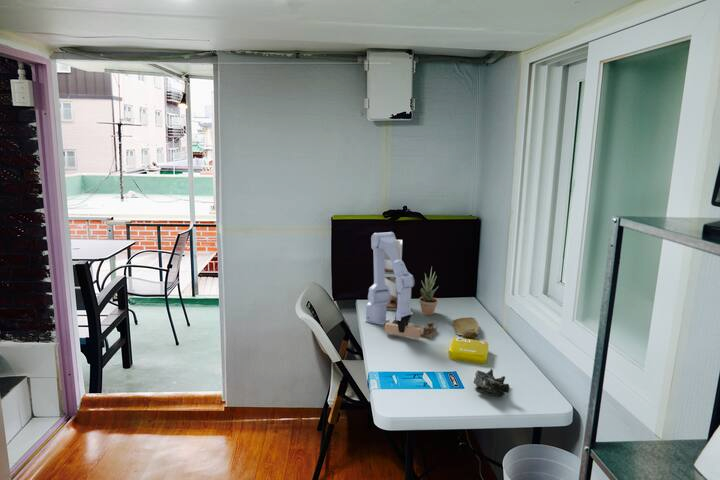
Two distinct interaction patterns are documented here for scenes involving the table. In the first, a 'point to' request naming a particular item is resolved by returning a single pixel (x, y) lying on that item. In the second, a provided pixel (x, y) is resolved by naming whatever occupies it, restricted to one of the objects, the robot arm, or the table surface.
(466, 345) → the element tile
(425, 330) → the strip rack
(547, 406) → the table surface
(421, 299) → the potted plant
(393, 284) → the display case
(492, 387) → the mineral specimen
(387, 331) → the clay strip
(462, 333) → the stone tool
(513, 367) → the table surface
